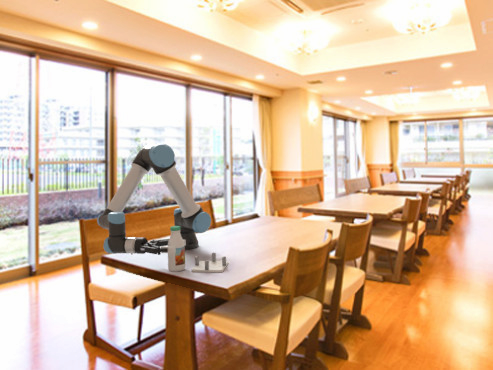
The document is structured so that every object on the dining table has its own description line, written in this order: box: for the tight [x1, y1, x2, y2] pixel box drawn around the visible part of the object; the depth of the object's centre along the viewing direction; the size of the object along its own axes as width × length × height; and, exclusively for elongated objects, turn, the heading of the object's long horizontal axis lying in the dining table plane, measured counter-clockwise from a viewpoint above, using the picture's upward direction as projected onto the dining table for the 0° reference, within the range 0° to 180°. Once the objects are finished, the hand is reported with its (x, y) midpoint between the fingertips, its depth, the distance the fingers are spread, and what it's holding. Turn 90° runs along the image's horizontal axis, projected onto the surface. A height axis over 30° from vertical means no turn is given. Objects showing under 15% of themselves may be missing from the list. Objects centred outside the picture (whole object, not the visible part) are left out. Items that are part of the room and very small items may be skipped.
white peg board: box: [191, 252, 229, 273], centre depth 163 cm, size 15×15×5 cm
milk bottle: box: [167, 225, 186, 272], centre depth 161 cm, size 8×8×20 cm
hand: (180, 246), depth 161 cm, fingers open, 13 cm apart
